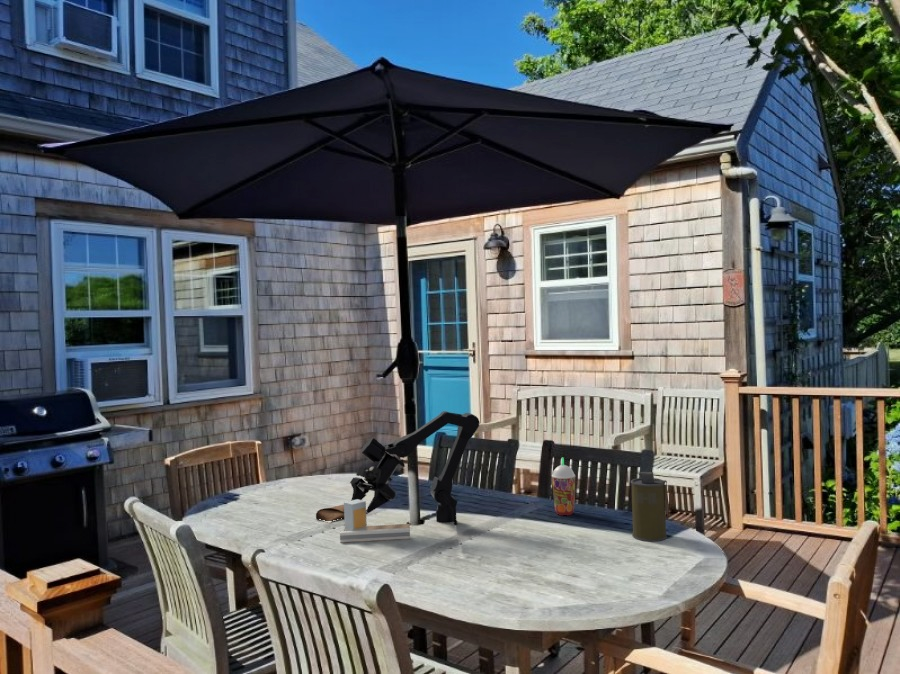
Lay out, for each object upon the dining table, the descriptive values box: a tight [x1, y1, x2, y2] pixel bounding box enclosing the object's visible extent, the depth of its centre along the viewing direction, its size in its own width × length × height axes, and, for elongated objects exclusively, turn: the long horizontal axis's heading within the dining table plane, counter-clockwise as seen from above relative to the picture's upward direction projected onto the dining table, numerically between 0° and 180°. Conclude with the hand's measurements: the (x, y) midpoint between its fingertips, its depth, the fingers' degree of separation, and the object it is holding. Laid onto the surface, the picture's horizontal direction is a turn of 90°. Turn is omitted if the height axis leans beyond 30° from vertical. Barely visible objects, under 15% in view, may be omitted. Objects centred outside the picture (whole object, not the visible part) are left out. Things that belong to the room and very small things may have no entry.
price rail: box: [339, 527, 411, 543], centre depth 231 cm, size 22×2×3 cm, turn 93°
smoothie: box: [551, 457, 576, 516], centre depth 257 cm, size 8×8×20 cm
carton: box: [343, 499, 368, 531], centre depth 237 cm, size 6×5×11 cm
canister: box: [630, 471, 669, 542], centre depth 227 cm, size 11×10×20 cm
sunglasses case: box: [315, 504, 368, 521], centre depth 266 cm, size 18×7×7 cm
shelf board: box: [339, 523, 411, 544], centre depth 239 cm, size 22×18×1 cm
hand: (358, 509), depth 238 cm, fingers open, 9 cm apart
